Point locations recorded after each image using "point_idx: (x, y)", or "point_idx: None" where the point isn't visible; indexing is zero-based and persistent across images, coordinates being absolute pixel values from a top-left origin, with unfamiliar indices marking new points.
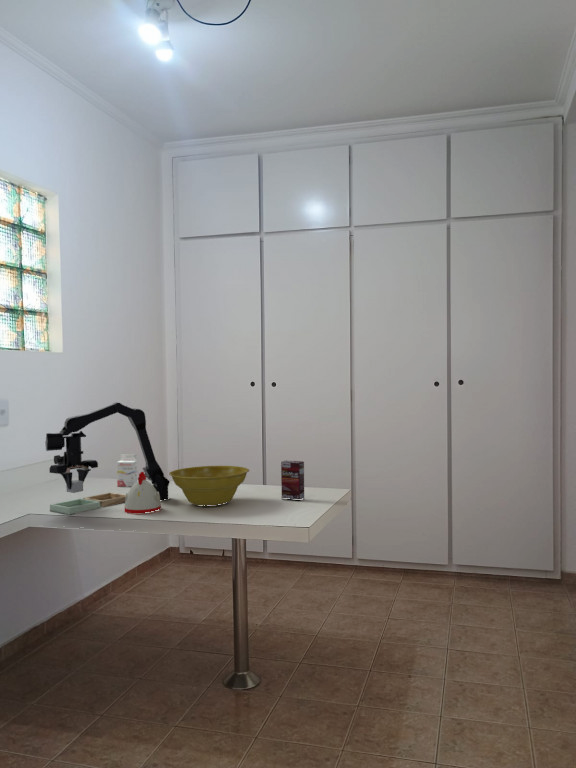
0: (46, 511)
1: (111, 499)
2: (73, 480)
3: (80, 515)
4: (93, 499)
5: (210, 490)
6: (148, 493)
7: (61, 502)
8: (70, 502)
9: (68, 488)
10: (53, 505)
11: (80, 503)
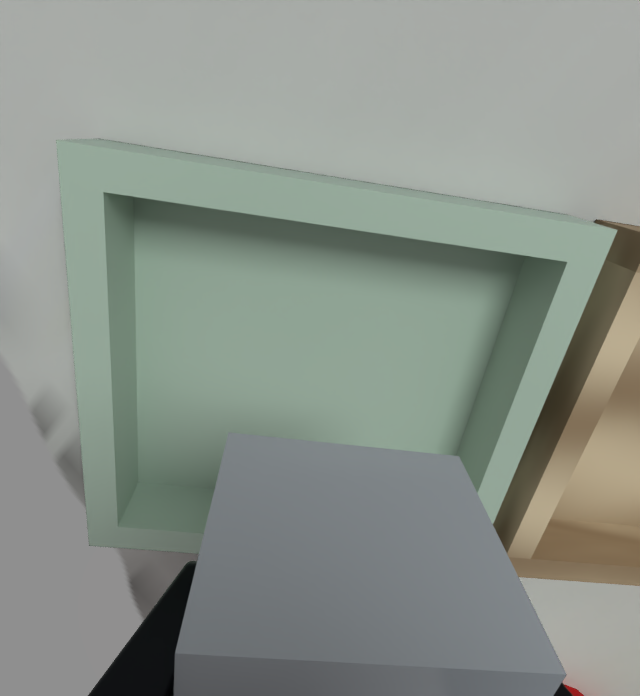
0: (47, 118)
1: (608, 582)
2: (467, 667)
3: (158, 573)
4: (576, 440)
5: None
6: None
7: (263, 198)
8: (404, 233)
9: (181, 577)
10: (67, 243)
11: (530, 261)
